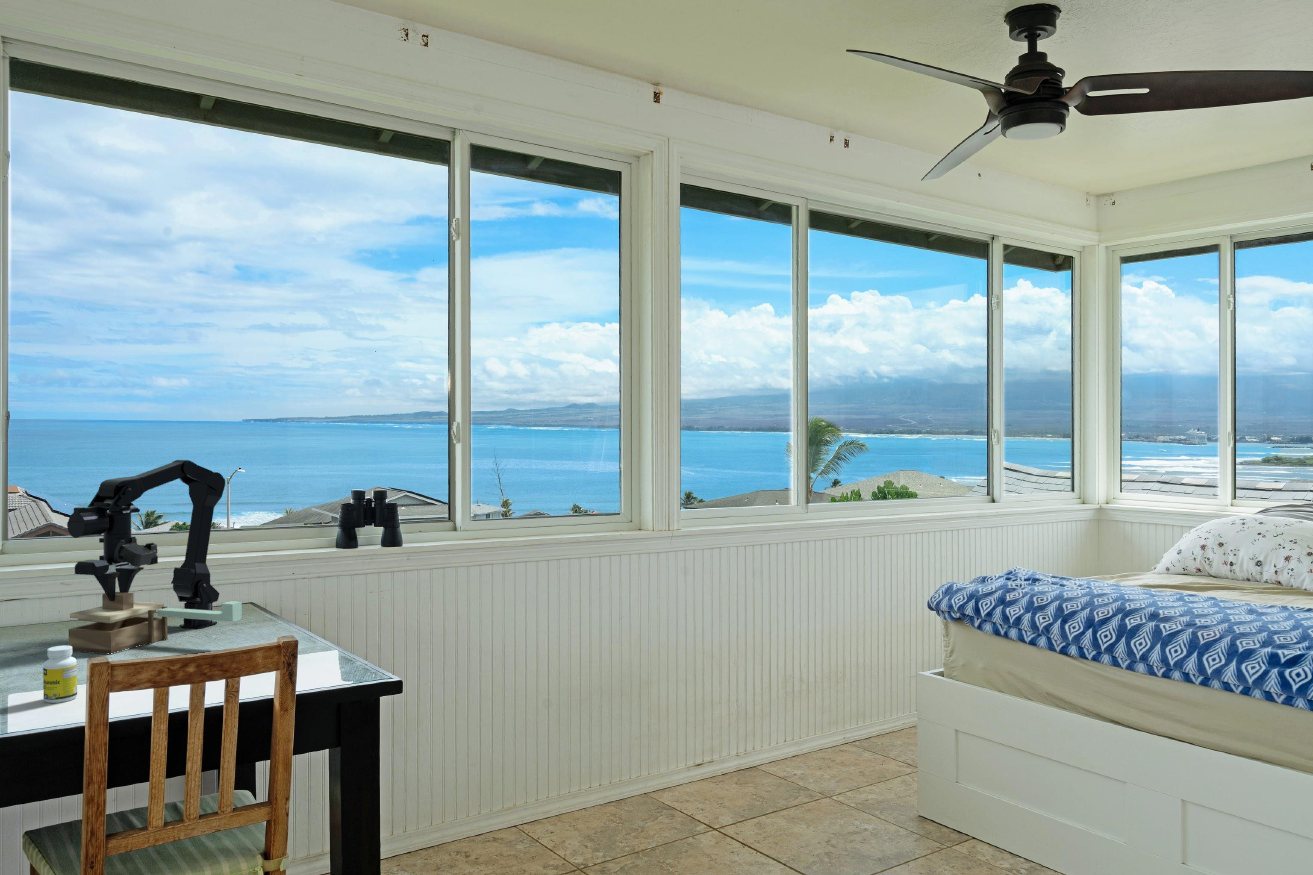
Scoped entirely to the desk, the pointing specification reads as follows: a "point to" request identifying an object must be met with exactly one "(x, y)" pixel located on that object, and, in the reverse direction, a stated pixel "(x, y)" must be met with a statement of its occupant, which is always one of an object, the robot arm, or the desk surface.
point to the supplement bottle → (60, 675)
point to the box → (118, 634)
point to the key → (206, 613)
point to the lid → (116, 609)
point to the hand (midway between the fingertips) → (118, 599)
